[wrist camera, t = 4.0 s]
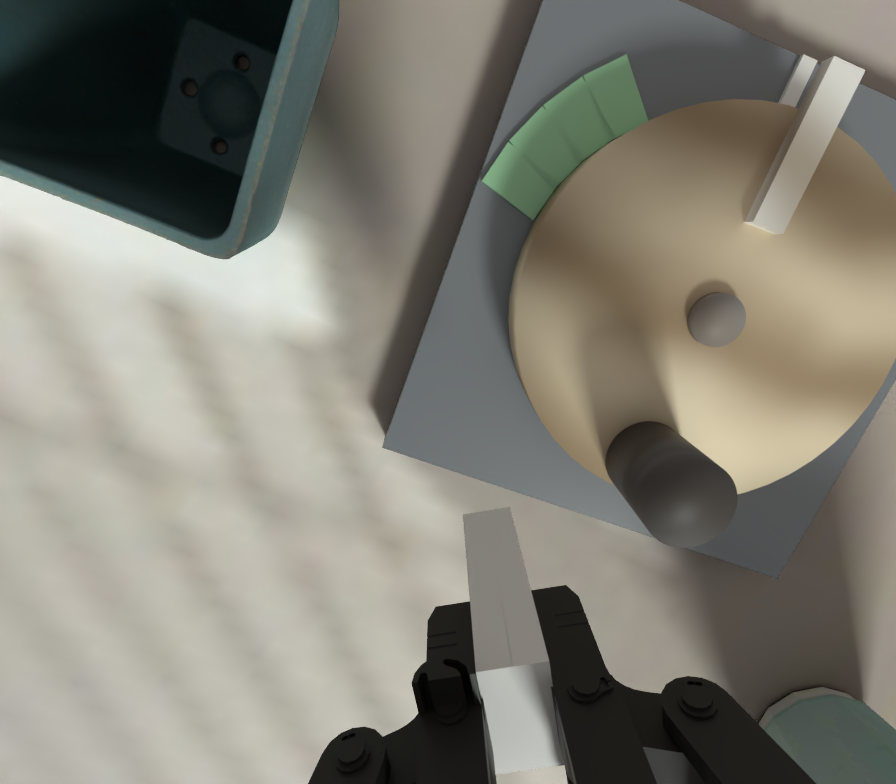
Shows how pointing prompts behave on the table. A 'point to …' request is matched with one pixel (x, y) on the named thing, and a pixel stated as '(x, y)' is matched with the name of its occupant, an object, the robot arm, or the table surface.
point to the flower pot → (163, 109)
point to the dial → (710, 302)
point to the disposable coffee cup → (833, 737)
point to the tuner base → (519, 203)
